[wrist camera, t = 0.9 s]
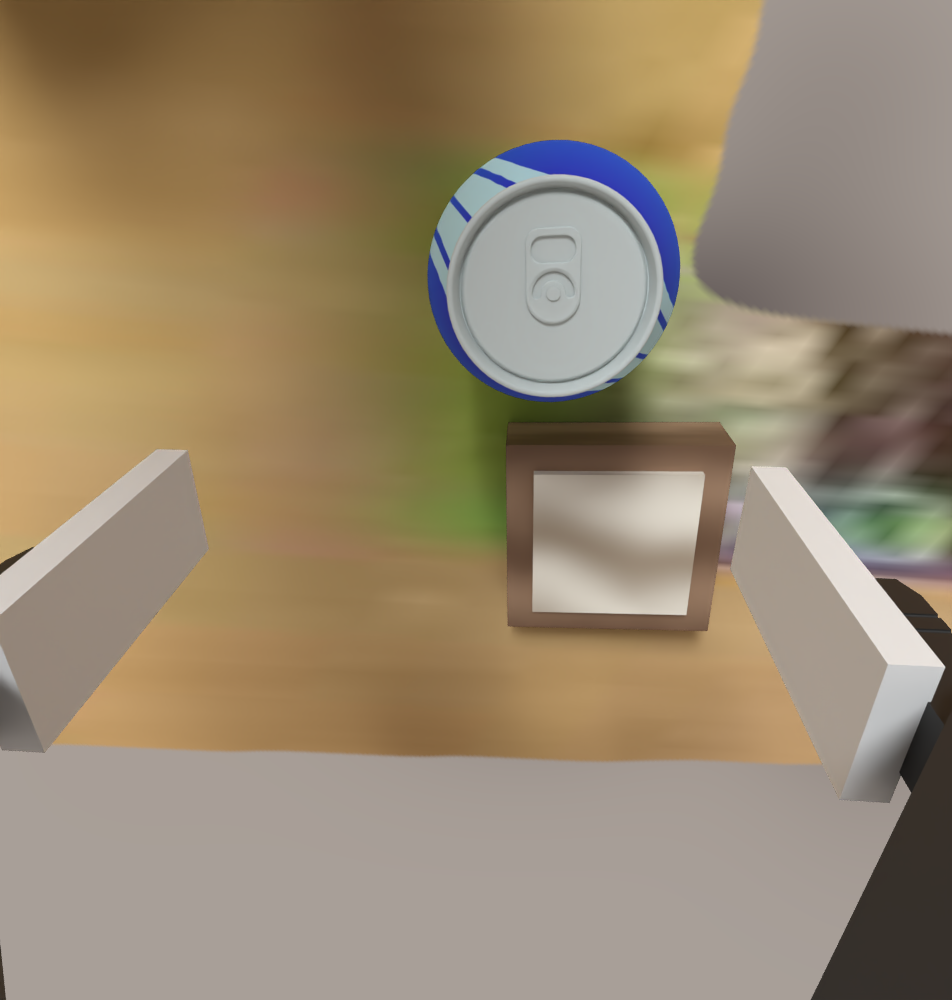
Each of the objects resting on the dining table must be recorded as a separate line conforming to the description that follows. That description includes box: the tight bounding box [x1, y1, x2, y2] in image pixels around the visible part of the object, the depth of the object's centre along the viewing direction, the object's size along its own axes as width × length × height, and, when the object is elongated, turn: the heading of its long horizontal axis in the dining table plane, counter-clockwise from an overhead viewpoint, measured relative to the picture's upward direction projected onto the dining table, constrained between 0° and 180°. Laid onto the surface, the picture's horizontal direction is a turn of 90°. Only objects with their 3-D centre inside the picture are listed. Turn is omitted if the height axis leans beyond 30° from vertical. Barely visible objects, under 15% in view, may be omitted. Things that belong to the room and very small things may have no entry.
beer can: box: [428, 140, 680, 402], centre depth 28 cm, size 8×8×16 cm
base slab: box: [506, 422, 736, 631], centre depth 40 cm, size 12×12×4 cm
